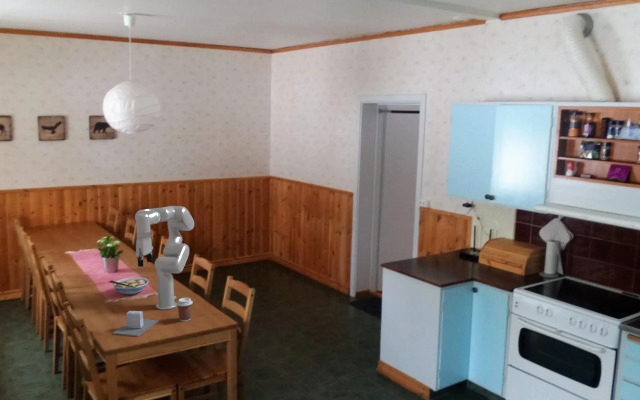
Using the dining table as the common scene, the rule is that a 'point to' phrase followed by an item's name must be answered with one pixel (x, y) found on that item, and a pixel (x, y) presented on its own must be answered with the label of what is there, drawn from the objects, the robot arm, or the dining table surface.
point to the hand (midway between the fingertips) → (145, 264)
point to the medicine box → (134, 319)
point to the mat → (135, 331)
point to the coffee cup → (184, 309)
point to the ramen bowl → (130, 285)
